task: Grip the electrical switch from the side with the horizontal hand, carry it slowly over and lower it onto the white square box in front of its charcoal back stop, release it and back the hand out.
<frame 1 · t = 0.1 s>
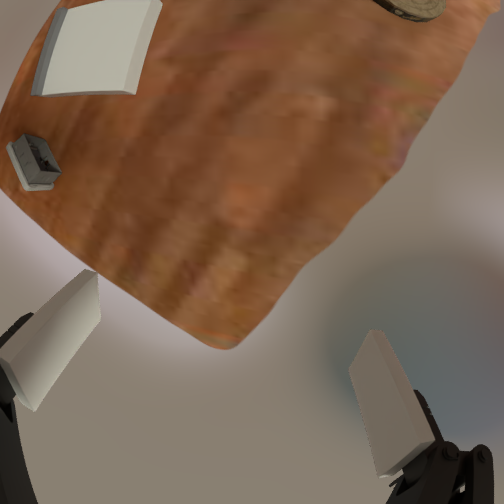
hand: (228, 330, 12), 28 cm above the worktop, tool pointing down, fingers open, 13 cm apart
electrical switch: (50, 158, 36), on the worktop
white square box: (100, 49, 30), on the worktop
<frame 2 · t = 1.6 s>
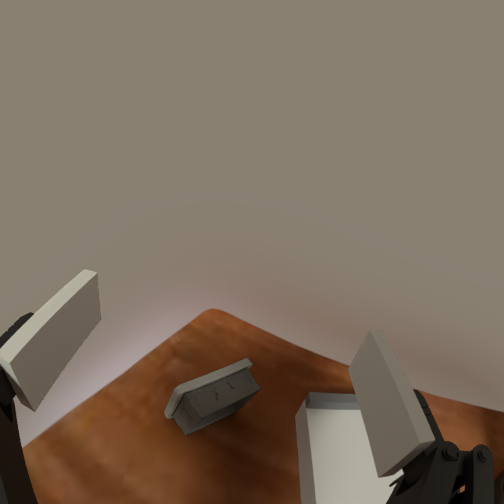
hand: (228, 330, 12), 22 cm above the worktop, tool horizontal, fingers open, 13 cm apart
electrical switch: (208, 417, 29), on the worktop
white square box: (360, 470, 24), on the worktop
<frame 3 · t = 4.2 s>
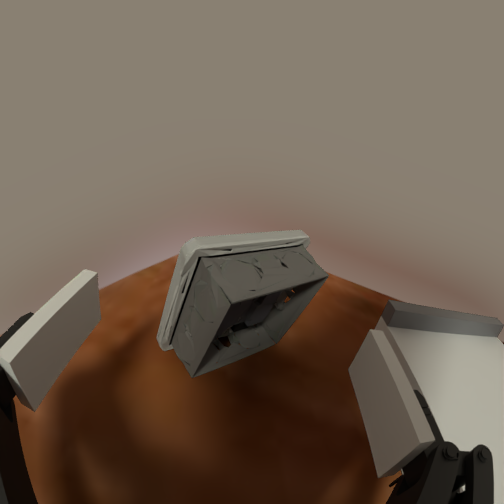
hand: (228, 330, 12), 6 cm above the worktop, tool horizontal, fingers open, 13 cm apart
electrical switch: (231, 352, 19), on the worktop
white square box: (464, 424, 14), on the worktop
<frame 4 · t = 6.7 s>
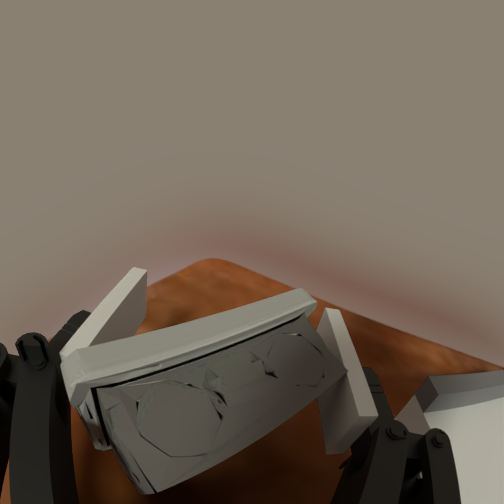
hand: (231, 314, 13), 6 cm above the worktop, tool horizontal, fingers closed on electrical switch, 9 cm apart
electrical switch: (198, 451, 11), on the worktop, touching gripper
white square box: (492, 503, 6), on the worktop
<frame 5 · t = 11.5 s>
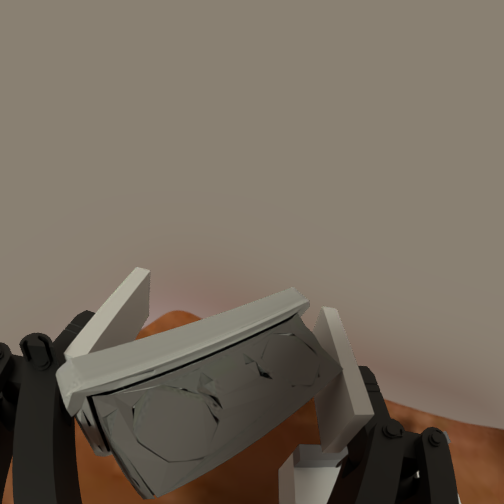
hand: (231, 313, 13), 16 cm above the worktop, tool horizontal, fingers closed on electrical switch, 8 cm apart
electrical switch: (197, 453, 11), point 10 cm above the worktop, touching gripper
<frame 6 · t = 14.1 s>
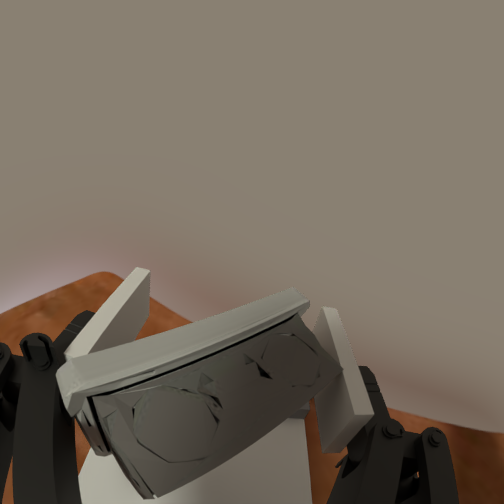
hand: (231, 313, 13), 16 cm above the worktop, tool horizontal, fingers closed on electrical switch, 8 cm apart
electrical switch: (198, 453, 11), point 10 cm above the worktop, touching gripper
white square box: (195, 496, 15), on the worktop
when the fingers open (11 cm above the worktop, at t = 16.5 s): electrical switch drops 1 cm, resting on white square box.
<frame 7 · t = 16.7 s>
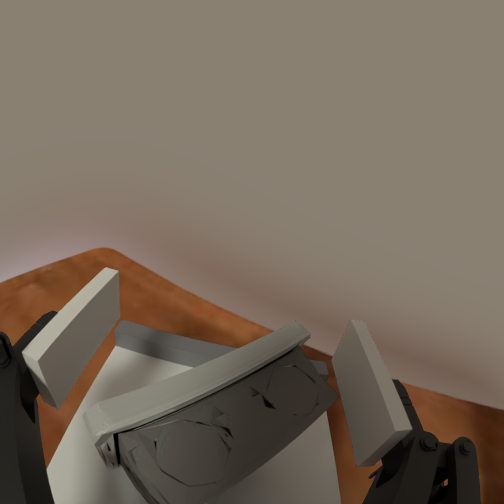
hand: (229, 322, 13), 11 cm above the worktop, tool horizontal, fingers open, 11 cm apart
electrical switch: (201, 464, 12), point 4 cm above the worktop, touching white square box
white square box: (197, 481, 13), on the worktop
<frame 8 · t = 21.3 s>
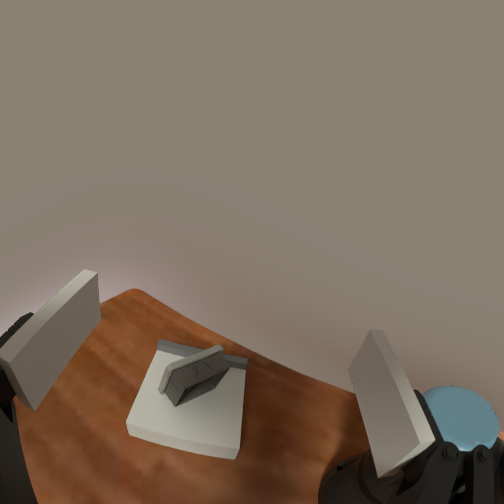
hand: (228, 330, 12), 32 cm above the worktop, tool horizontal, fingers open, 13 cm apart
electrical switch: (192, 393, 39), point 4 cm above the worktop, touching white square box
white square box: (191, 406, 40), on the worktop
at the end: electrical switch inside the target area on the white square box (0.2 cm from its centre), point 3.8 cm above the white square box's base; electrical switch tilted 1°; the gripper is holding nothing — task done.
